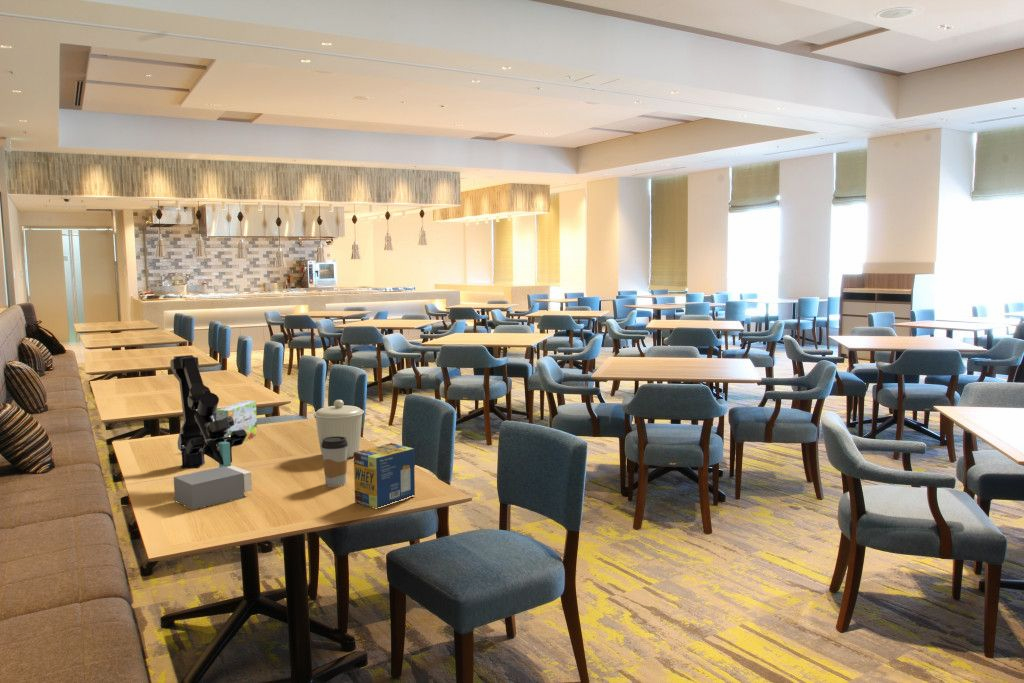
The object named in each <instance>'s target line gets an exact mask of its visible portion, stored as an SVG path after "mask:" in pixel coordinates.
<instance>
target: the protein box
mask: <svg viewBox="0 0 1024 683" xmlns="http://www.w3.org/2000/svg"><path fill="white" fill-rule="evenodd" d="M353 478H354V479H353V480H354V481H353V482H354V502H355V503H356V502H358V503H357V504H359V503H361V504H360V505H362V504H364V505H363V506H365V505H367V506H366V507H368V506H371V507H374V508H378V507H381V506H384V505H387V504H390V503H392V502H395V501H399V500H401V499H404V498H407V497H409V496H412V495H415V496H416V493H415V492H416V486H415V482H416V481H415V448H413V447H408V446H406V445H401V444H397V443H393V442H390V443H386V444H383V445H379V446H376V447H375V446H374V447H370V448H367V449H362V450H359V451H358V452H354V456H353ZM371 507H370V508H371ZM374 508H373V509H374Z"/></svg>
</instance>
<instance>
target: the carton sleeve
mask: <svg viewBox="0 0 1024 683" xmlns="http://www.w3.org/2000/svg"><path fill="white" fill-rule="evenodd" d="M173 487H174V488H173V490H174V491H173V492H174V502H175V501H177V502H179V503H181V504H183V505H185V506H187V507H189V508H188V509H190V508H191V509H190V510H192V509H196V510H199V509H198V508H200V509H202V508H201V507H204V506H208V507H210V506H209V505H212V506H214V505H213V504H216V505H219V504H218V503H220V504H224V503H228V502H232V501H235V500H239V498H240V499H244V498H245V492H244V479H243V473H241V472H238V471H236V470H233V469H230V468H228V467H225V466H223V467H219V466H218V467H214V468H210V469H205V470H200V471H195V472H191V473H186V474H182V475H177V476H174V477H173ZM231 500H232V501H231ZM227 501H228V502H227ZM177 502H176V503H177ZM223 502H224V503H223ZM179 503H178V504H179ZM181 504H180V505H181ZM183 505H182V506H183ZM185 506H184V507H185ZM187 507H186V508H187ZM204 508H205V507H204Z"/></svg>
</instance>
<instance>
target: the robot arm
mask: <svg viewBox="0 0 1024 683" xmlns="http://www.w3.org/2000/svg"><path fill="white" fill-rule="evenodd" d="M169 364H170V370H172V373H173V376H174V377H175V378H176V380H177V381H178V383H179V393H180V399H181V400H180V401H181V408H182V416H183V417H182V418H183V423H182V425H181V427H180V429H179V435H178V439H177V449H178V450H179V451H180V452H181V465H180V468H181V467H188V468H200V467H201V466H202V465H204V464H205V463H206V461H205V456H207V457H209V458H211V459H213V461H215V462H217V463H218V464H219V463H220V464H221V465H223V464H224V462H223V459H222V457H221V455H220V453H219V451H218V447H217V444H218V443H219V442H224V441H226V442H229V443H230V459H231V463H233V451H232V447H237V446H242V445H243V444H244V442H245V441H244V440H245V438H246V436H247V433H246V431H245V430H243V429H241V430H235V431H233V432H232V433H231V435H230V436H224V434H226V433H227V431H226V430H227V429H230V427H232V426H233V425H234V420H233V418H232V417H231V416H229V417H226V418H224V419H221V420H216V410H218V405H219V402H220V398H219V396H218V395H217V394H215V393H213V392H211V390H210V388H209V387H208V386H206V385H205V384H204V382H203V378H202V375H201V372H200V370H199V368H200V366H199V357H196V356H194V355H193V354H190V355H188V354H187V355H176V356H175V355H174V356H173V359H170V363H169Z"/></svg>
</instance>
